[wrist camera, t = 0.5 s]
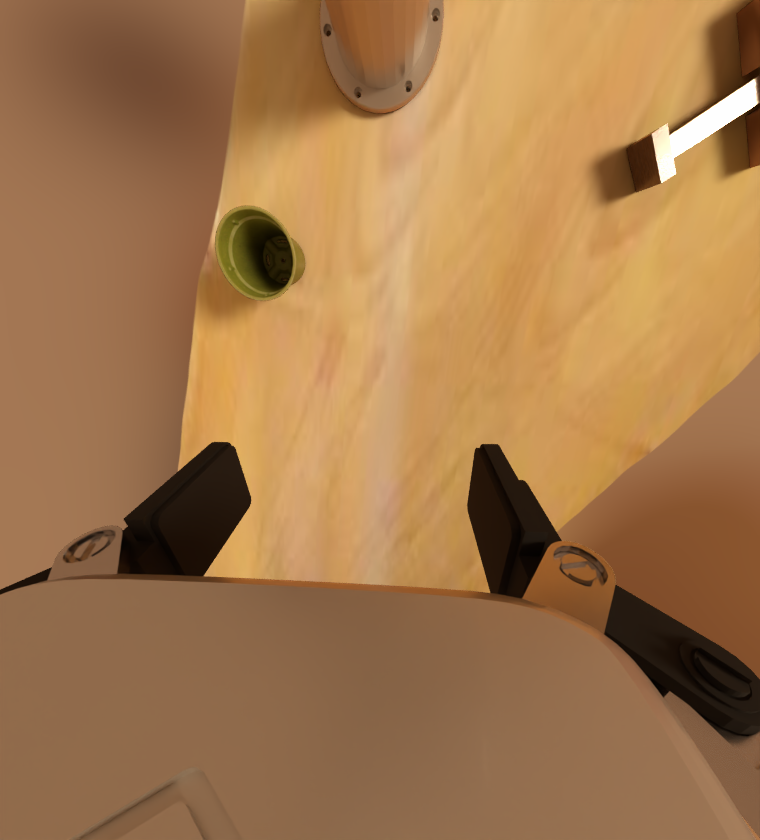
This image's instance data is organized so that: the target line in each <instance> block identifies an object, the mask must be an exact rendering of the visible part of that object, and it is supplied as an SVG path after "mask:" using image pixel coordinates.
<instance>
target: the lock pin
mask: <svg viewBox="0 0 760 840" xmlns="http://www.w3.org/2000/svg"><path fill="white" fill-rule="evenodd" d="M758 103H760V75H758V76H757V77H755V78H753V79H751V80H750V81H748V82H747V83H745V84H744V85H742V86H741V87H739V88H738V89H736V90H735V91H733V92H732V93H730V94H729V95H727V96H726V97H724V98H723V99H721V100H720V101H718V102H717V103H715V104H714V105H712V106H711V107H709V108H708V109H706V110H705V111H703V112H702V113H700V114H699V115H697V116H696V117H694V118H693V119H691V120H690V121H688V122H687V123H685V124H684V125H682V126H681V127H679V128H678V129H676V130H675V131H673V132H672V133H670V134H669V130H668V124H665V125H663V126H662V127H660V128H658V129H657V130H655V131H653V132H652V133H650V134H648V135H647V136H645V137H643V138H642V139H640V140H638V141H637V142H636V143H634V144H633V145H631V146H630V147H628V148H627V152H628V157H629V161H630V166H631V170H632V175H633V179H634V184H635V188H636V192H639V191H642V190H644V189H647V188H650V187H652V186H655V185H658V184H660V183H662V182H664V181H666V180H667V179H669V178H670V177H672V176H674V175H675V174H676V170H675V165H674V159H673V158H674V157H676V156H678V155H679V154H681V153H682V152H684V151H685V150H687V149H688V148H690V147H692V146H693V145H695V144H696V143H698V142H699V141H701V140H702V139H704V138H706V137H707V136H709V135H710V134H712V133H713V132H715V131H716V130H718V129H720V128H721V127H723V126H724V125H726V124H727V123H729V122H730V121H732V120H733V119H735V118H737V117H738V116H740V115H741V114H743V113H744V112H746V111H747V110H749V109H751V108H752V107H754V106H755V105H757V104H758Z"/></svg>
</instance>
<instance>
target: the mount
mask: <svg viewBox="0 0 760 840" xmlns="http://www.w3.org/2000/svg"><path fill="white" fill-rule="evenodd" d="M737 22H738V34H739V45H740V57H741V68H742V77H743V76H745V75H746V74H748V73H750V72H751V71H753V70H755V69H756V68H758V67H760V0H753V1H752V2H751V3H750V4H748V5H747V6H746V7H745V8H743V9H742V10H741V11H740V12H738V13H737ZM746 126H747V138H748V149H749V161H750V168H752V167H755V166H758V165H760V108H758V109H756V110H755V111H753V112H752V113H750V114H749V115H747V116H746Z"/></svg>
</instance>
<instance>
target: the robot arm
mask: <svg viewBox="0 0 760 840" xmlns="http://www.w3.org/2000/svg"><path fill="white" fill-rule="evenodd" d="M434 19H436V20H437V21H436V22H434V21H433V20H434ZM443 19H444V4H443V0H321V4H320V32H321V39H322V46H323V50H324V54H325V57H326V61H327V64H328V67H329V69H330V72H331V74H332V76H333V78H334V80H335V82H336V84H337V86H338V87H339V89H340V90H341V91H342V93H343V94H344V95H345V97H346V98H348V99H349V100H350V101H351V102H352V103H353V104H354V105H356V106H357V107H359V108H361V109H363V110H365V111H369V112H372V113H387V112H391V111H395V110H397V109H399V108H401V107H403V106H404V105H406V104H407V103H408V102H409V101H411V100H412V99H413V98H414V97H415V96H416V95H417V93H418V92H419V91H420V90H421V89H422V87H423V86H424V84H425V82H426V81H427V79H428V77H429V76H430V74H431V71H432V69H433V66H434V64H435V61H436V58H437V54H438V51H439V47H440V42H441V36H442V30H443ZM328 34H331V35H330V36H329V37H328ZM408 88H409V89H410V90H411V91H410V92H406V90H407V89H408ZM358 94H360V95H361V97H359V98H357V96H358ZM250 504H251V496H250V493H249V490H248V487H247V483H246V480H245V477H244V474H243V471H242V468H241V465H240V461H239V458H238V455H237V452H236V449H235V447H234V446H232V445H231V444H230V443H228V442H212V443H211V444H210V445H208V446H207V447H206V448H205V449H204V450H203V451H201V452H200V453H199V454H198V455H197V456H196V457H194V458H193V459H192V460H191V461H190V462H189V463H188V464H186V465H185V466H184V467H183V468H182V469H181V470H179V471H178V472H177V473H176V474H175V475H174V476H173V477H171V478H170V479H169V480H168V481H167V482H166V483H164V484H163V485H162V486H161V487H160V488H159V489H158V490H156V491H155V492H154V493H153V494H152V495H150V496H149V497H148V498H147V499H146V500H145V501H144V502H142V503H141V504H140V505H139V506H138V507H137V508H135V510H133V511H132V512H131V513H130V514H128V515H127V517H125V518H124V520H125V522H126V524H127V525H128V527H127V528H125V530H122V529H121V528H120V527H118V526H105V527H101V528H98V529H94V530H92V531H90V532H87V533H85V534H84V535H82V536H80V537H78V538H76V539H74V540H73V541H72V542H70V543H69V544H68V545H66V546H65V547H64V548H63V549H62V550H61V551H60V552H59V554H58V555H57V557H56V558H55V561H54V564H53V566H52V567H51V568H49V569H47V570H45V571H42V572H40V573H38V574H36V575H33V576H31V577H28V578H26V579H24V580H22V581H19V582H17V583H15V584H12V585H10V586H8V587H5V588H3V589H1V590H0V840H756V839H755V837H754V835H753V834H752V832H751V831H750V829H749V828H748V826H747V824H746V823H745V821H744V819H745V820H746V821H747V823H748V824H749V825H750V826H751V828H752V829H753V830H754V831H755V833H756V834H757V835H758V836H759V838H760V679H759V678H758V677H757V676H756V675H755V674H754V673H753V672H752V670H751V669H749V668H748V667H747V666H746V665H745V664H744V663H743V662H741V661H740V660H739V659H738V658H737V657H736V656H734V655H733V654H731V653H729V652H728V651H727V650H725V649H724V648H722V647H721V646H719V645H717V644H716V643H714V642H712V641H710V640H709V639H707V638H705V637H704V636H702V635H700V634H699V633H697V632H695V631H694V630H692V629H690V628H688V627H687V626H685V625H683V624H682V623H680V622H678V621H677V620H675V619H673V618H672V617H670V616H668V615H666V614H665V613H663V612H661V611H660V610H658V609H656V608H654V607H653V606H651V605H649V604H647V603H646V602H644V601H643V600H641V599H639V598H638V597H636V596H634V595H632V594H631V593H629V592H627V591H626V590H624V589H622V588H621V587H619V586H617V585H616V580H615V579H616V578H615V575H614V572H613V570H612V568H611V567H610V566H609V564H608V563H607V562H606V561H605V560H604V559H603V558H602V557H601V556H600V555H598V554H597V553H596V552H594V551H592V550H591V549H589V548H587V547H586V546H583V545H580V544H578V543H575V542H570V541H562V540H561V539H560V537H559V536H558V534H557V532H556V531H555V529H554V527H553V526H552V524H551V522H550V521H549V519H548V517H547V516H546V514H545V512H544V511H543V509H542V507H541V506H540V504H539V502H538V501H537V499H536V497H535V496H534V494H533V492H532V491H531V489H530V488H529V486H528V484H527V483H526V482H525V481H523V480H518V478H517V476H516V474H515V473H514V471H513V469H512V467H511V466H510V464H509V462H508V460H507V459H506V457H505V455H504V454H503V452H502V450H501V448H500V447H499V445H498V444H482V445H481V446H480V448H476V449H475V453H474V460H473V467H472V475H471V482H470V489H469V496H468V504H467V507H468V514H469V517H470V521H471V524H472V528H473V532H474V535H475V539H476V542H477V546H478V550H479V553H480V557H481V560H482V564H483V567H484V571H485V575H486V578H487V582H488V585H489V589H490V593H484V592H476V591H465V590H451V589H437V588H423V587H407V586H389V585H370V584H352V583H333V582H313V581H293V580H272V579H251V578H228V577H205V576H204V574H205V573H206V571H207V570H208V568H209V567H210V565H211V564H212V562H213V561H214V559H215V558H216V556H217V555H218V553H219V552H220V550H221V549H222V547H223V546H224V544H225V543H226V541H227V540H228V538H229V537H230V535H231V534H232V532H233V531H234V529H235V528H236V526H237V525H238V523H239V522H240V520H241V519H242V517H243V516H244V514H245V513H246V511H247V510H248V508H249V507H250ZM740 814H741V815H742V816H741V815H740ZM742 817H743V818H744V819H743V818H742Z"/></svg>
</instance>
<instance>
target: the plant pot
mask: <svg viewBox="0 0 760 840" xmlns="http://www.w3.org/2000/svg"><path fill="white" fill-rule="evenodd" d="M278 240H286V241H287V243H278V242H277V241H278ZM215 250H216V256H217V260H218V263H219V266H220V268H221V270H222V272H223V274H224V276H225V277H226V279H227V280H228V281H229V283H230V284H231V285H232V286H233V287H234V288H235V289H236V290H237V291H238V292H240V293H241V294H242V295H244V296H246V297H248V298H250V299H253V300H258V301H268V300H273V299H275V298H278V297H279V296H281V295H282V294H284V293H285V292H286V291H287V290H288V288H289V287H290V285H292V284H294V283H296V282H297V281H298V280H299V279H300V278H301V276H302V275H303V273H304V269H305V258H304V254H303V252H302V249H301V248H300V246H299V245H298V244H297V243H296V241H294V240H293V239H292V238H291V237H290V235H289V234H288V232H287V230H286V229H285V227H284V226H283V225H282V223H281V222H280V221H279V220H278V219H277V218H276V217H275V216H273V215H272V214H271V213H269V212H268V211H266V210H264V209H262V208H259V207H256V206H240V207H236V208H234V209H232V210H230V211H229V212H228V213H227V214H226V215H225V216H224V217H223V218H222V220H221V221H220V223H219V225H218V228H217V231H216V236H215ZM267 255H269V263H270V266H269V265H268V264H267V259H266V257H267ZM282 259H285V262H284V263H283V262H282V261H281V260H282ZM282 278H290V279H289V281H283V280H282Z"/></svg>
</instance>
